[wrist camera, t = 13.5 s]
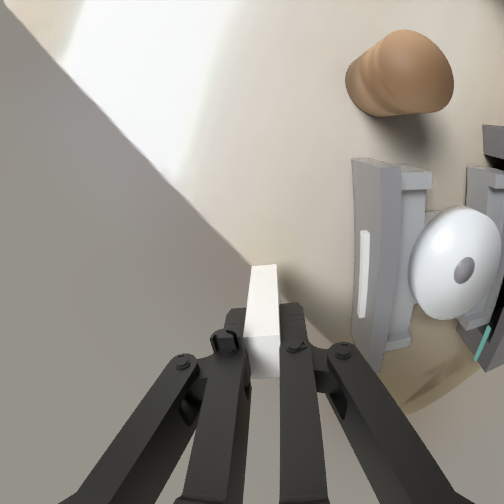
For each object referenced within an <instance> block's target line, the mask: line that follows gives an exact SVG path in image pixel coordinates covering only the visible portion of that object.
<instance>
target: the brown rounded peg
mask: <svg viewBox="0 0 504 504" xmlns="http://www.w3.org/2000/svg"><path fill="white" fill-rule="evenodd" d="M345 83H346V88H347V91H348V94H349V96H350V98H351V99H352V101H353V102H354V103H355V105H356V106H357V107H359V108H360V109H361V110H362V111H364V112H366V113H368V114H370V115H373V116H377V117H386V116H395V115H405V114H418V113H432V112H437V111H440V110H441V109H443V108H444V107H445V106H446V105H447V104H448V103H449V101H450V100H451V97H452V94H453V89H454V80H453V74H452V70H451V67H450V65H449V63H448V60H447V59H446V57H445V55H444V54H443V53H442V51H441V50H440V49H439V48H438V46H437V45H436V44H434V43H433V42H432V41H431V40H430V39H428V38H427V37H425V36H423V35H422V34H419V33H417V32H414V31H410V30H398V31H395V32H392V33H390V34H389V35H387V36H386V37H385V38H383V39H382V40H381V41H379V42H378V43H377V44H375V45H374V46H373V47H372V48H370V49H369V50H368V51H366V52H365V53H364V54H363V55H361V56H360V57H359V58H358V59H356V60H355V61H354V62H353V63H352V64H351V65H350V66H349V68H348V70H347V72H346V77H345Z"/></svg>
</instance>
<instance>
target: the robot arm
mask: <svg viewBox="0 0 504 504" xmlns="http://www.w3.org/2000/svg"><path fill="white" fill-rule="evenodd" d="M210 341H211V345H212V348H213V351H214V353H213V354H212V355H210V356H208V357H205V358H201V359H196V358H195V357H194V356H193V355H191V354H181V355H177V356H175V357H174V358H173V359H171V361H170V362H169V363H168V364H167V366H166V367H165V369H164V370H163V371H162V373H161V374H160V376H159V377H158V378H157V380H156V381H155V383H154V384H153V386H152V387H151V388H150V390H149V391H148V392H147V394H146V395H145V397H144V398H143V400H142V401H141V402H140V404H139V405H138V406H137V408H136V409H135V411H134V412H133V413H132V415H131V416H130V418H129V419H128V420H127V422H126V423H125V425H124V426H123V427H122V429H121V430H120V432H119V433H118V434H117V436H116V437H115V439H114V440H113V442H112V443H111V444H110V446H109V447H108V449H107V450H106V451H105V453H104V454H103V456H102V457H101V459H100V460H99V461H98V463H97V464H96V465H95V467H94V468H93V470H92V471H91V473H90V474H89V475H88V477H87V478H86V480H85V481H84V482H83V484H82V485H81V487H80V488H79V490H78V491H77V492H76V493H75V494H73V495H72V496H70V497H68V498H67V499H65V500H64V501H62V502H60V503H59V504H155V502H156V500H157V498H158V497H159V495H160V493H161V491H162V490H163V488H164V486H165V484H166V483H167V481H168V479H169V477H170V475H171V473H172V472H173V470H174V468H175V466H176V465H177V463H178V461H179V459H180V457H181V455H182V454H183V451H184V450H185V448H186V446H187V444H188V442H189V441H190V439H191V437H192V435H193V433H194V431H195V429H196V433H195V437H194V442H193V447H192V451H191V456H190V461H189V465H188V470H187V475H186V479H185V484H184V489H183V493H182V495H181V496H180V497H179V498H177V499H176V500H175V502H174V503H173V504H243V492H244V480H245V468H246V456H247V443H248V430H249V418H250V404H251V390H252V387H251V382H250V377H252V379H263V378H279V377H280V500H279V504H330V502H329V499H328V494H327V482H326V471H325V460H324V450H323V441H322V431H321V423H320V414H319V407H318V399H317V392H321V393H326V397H327V398H328V400H329V402H330V404H331V406H332V408H333V410H334V412H335V414H336V416H337V418H338V420H339V422H340V424H341V426H342V428H343V430H344V432H345V434H346V436H347V438H348V440H349V442H350V444H351V446H352V448H353V450H354V452H355V454H356V456H357V458H358V460H359V462H360V464H361V466H362V468H363V470H364V472H365V474H366V476H367V478H368V480H369V482H370V484H371V486H372V488H373V490H374V492H375V494H376V496H377V499H378V501H379V503H380V504H475V503H473V502H471V501H470V500H468V499H466V498H465V497H463V496H461V495H460V494H458V493H456V492H455V491H454V489H453V488H452V486H451V484H450V483H449V481H448V480H447V478H446V477H445V475H444V473H443V472H442V470H441V469H440V467H439V466H438V464H437V463H436V461H435V460H434V458H433V457H432V455H431V454H430V452H429V450H428V449H427V448H426V446H425V444H424V443H423V442H422V440H421V438H420V437H419V435H418V434H417V433H416V431H415V430H414V428H413V427H412V425H411V424H410V422H409V421H408V419H407V418H406V416H405V415H404V413H403V412H402V410H401V409H400V408H399V406H398V405H397V403H396V402H395V400H394V399H393V398H392V396H391V395H390V393H389V392H388V390H387V389H386V388H385V386H384V385H383V383H382V382H381V380H380V379H379V378H378V376H377V375H376V373H375V372H374V371H373V369H372V368H371V366H370V365H369V364H368V362H367V361H366V359H365V358H364V357H363V355H362V354H361V353H360V351H359V350H358V348H357V347H355V346H354V345H353V344H350V343H346V342H340V343H336V344H334V345H332V346H331V347H330V348H329V349H320V348H317V347H315V346H313V345H311V344H310V342H309V341H308V338H307V331H306V325H305V319H304V313H303V307H302V306H301V305H300V304H299V303H298V302H297V303H287V304H280V293H279V283H278V274H277V265H276V264H271V265H261V266H252V271H251V279H250V287H249V294H248V302H247V308H236V309H231V310H230V311H229V313H228V314H227V316H226V320H225V325H224V329H220V330H218V331H216V332H214V333H213V334H212V335H211V337H210Z"/></svg>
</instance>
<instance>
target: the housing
mask: <svg viewBox="0 0 504 504" xmlns="http://www.w3.org/2000/svg"><path fill="white" fill-rule="evenodd" d="M482 126H483V142H484V155H489V156H493V157H497V158H501V159H504V127H503V126H493V125H482ZM456 331H457V332H458V333H459V335H460V336H461V337H462V339H463V340H464V342H465V343H466V345H467V346H468V347H469V349H470V350H471V352H472V353H473V355H474V360H475V362H476V361H478V362H479V364H480V365H481V367H482V368H483V370H484V371H485V372H487V371H489V370H492V369H494V368H495V367H498V366H500V365H502V364H504V307H502V308H499V309H496V310H494V311H493V313H492V316H491V319H490V322H489V323H488V324H485V325H482V326H479V327H477V328H474V329H471V330H467V331H466V330H465V329H464V328H463V326H462V325H461V324H460V323H458V326H457V329H456Z"/></svg>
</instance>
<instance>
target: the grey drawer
mask: <svg viewBox="0 0 504 504" xmlns="http://www.w3.org/2000/svg"><path fill="white" fill-rule="evenodd" d="M352 172H353V189H354V218H355V262H354V290H353V308H352V322H351V335H352V338H353V341H354V344H355V347H357V348H358V350H359V351H360V353H361V354H362V355H363V357H364V358H365V359H366V361H367V362H368V364H369V365H370V366H371V368H372V369H373V371H374V372H379V371H380V369H381V365H382V360H383V356H384V352H388V351H392V350H397V349H401V348H406V347H409V346H410V342H411V338H412V337H411V335H410V333H409V331H408V329H409V325H410V320H411V316H412V311H413V306H414V304H418V302H417V301H416V300H415V298H414V297H413V295H412V293H411V291H410V288H409V285H408V276H407V272H408V263H409V259H410V255H411V252H412V249H413V246H414V244H415V242H416V240H417V238H418V236H419V235H420V233H421V232H422V230H423V229H424V228H425V226H426V225H427V224H428V223H429V222H430V221H431V220H432V219H433V218H434V217H435V216H436V215H437V214H439V213H440V212H442V211H429V212H425V197H426V189H432V172H430V171H427V170H423V169H420V168H417V167H413V166H410V165H392V164H388V163H385V162H381V161H378V160H374V159H370V158H356V159H352ZM466 206H467V207H470V208H472V209H475V210H477V211H478V212H480V213H482V214H484V215H486V216H488V217H489V218H490V219H491V220H492V221H493V222H494V223H495V225H496V226H497V228H498V231H499V234H500V238H501V259H500V264H499V268H498V271H497V274H496V276H495V279H494V281H493V283H492V285H491V286H490V288H489V290H488V291H487V293H486V294H485V295H484V297H483V298H482V299H481V300H480V301H479V302H478V303H477V304H476V305H475V306H474V307H473V308H472V309H470V310H469V311H468V312H466V313H464V314H463V315H461V316H459V317H456V319H457V320H458V321H459V323H460V324H461V325H462V326H463V328H464V329H465V330H466V331H467V330H471V329H474V328H477V327H479V326H482V325H485V324H488V323H489V322H490V319H491V316H492V313H493V311H494V308H495V305H496V301H497V298H498V295H499V292H500V288H501V285H502V281H503V277H504V171H502V170H499V169H495V168H492V167H480V166H467V196H466Z"/></svg>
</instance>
